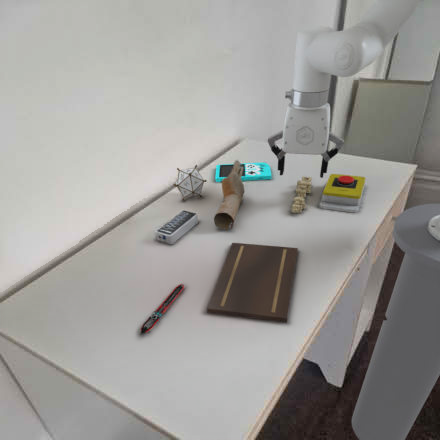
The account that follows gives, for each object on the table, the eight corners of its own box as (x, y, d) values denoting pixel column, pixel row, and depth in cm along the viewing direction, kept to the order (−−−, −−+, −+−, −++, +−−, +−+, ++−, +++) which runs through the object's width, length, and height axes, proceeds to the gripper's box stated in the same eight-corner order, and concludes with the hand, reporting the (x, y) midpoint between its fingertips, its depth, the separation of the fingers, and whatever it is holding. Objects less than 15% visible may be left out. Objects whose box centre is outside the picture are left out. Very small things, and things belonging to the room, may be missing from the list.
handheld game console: (271, 179, 105) (271, 175, 104) (215, 182, 106) (214, 178, 105) (268, 165, 112) (269, 161, 111) (216, 168, 113) (216, 163, 112)
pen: (187, 286, 71) (187, 283, 71) (146, 336, 62) (145, 333, 61) (178, 284, 72) (178, 281, 71) (137, 333, 63) (136, 330, 62)
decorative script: (298, 184, 101) (299, 172, 99) (312, 184, 101) (313, 172, 98) (290, 215, 89) (291, 202, 87) (306, 216, 88) (307, 203, 86)
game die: (197, 211, 101) (198, 194, 91) (168, 199, 101) (167, 180, 91) (209, 184, 103) (212, 164, 93) (181, 172, 103) (181, 151, 93)
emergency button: (368, 170, 95) (361, 196, 85) (365, 186, 98) (357, 213, 88) (331, 166, 98) (320, 191, 88) (329, 182, 101) (318, 207, 91)
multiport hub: (199, 221, 89) (198, 213, 88) (171, 244, 83) (170, 236, 81) (184, 218, 91) (183, 209, 90) (156, 240, 85) (154, 231, 83)
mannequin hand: (209, 236, 89) (235, 182, 105) (237, 232, 85) (260, 177, 102) (198, 210, 84) (227, 158, 100) (227, 206, 81) (253, 152, 97)
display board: (297, 251, 78) (297, 247, 77) (286, 322, 62) (287, 318, 62) (232, 246, 81) (232, 242, 80) (207, 312, 66) (206, 308, 65)
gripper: (266, 102, 78) (264, 178, 90) (352, 103, 75) (337, 183, 86) (271, 92, 84) (268, 166, 95) (351, 93, 80) (338, 169, 92)
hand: (301, 174), depth 91 cm, fingers open, 9 cm apart
